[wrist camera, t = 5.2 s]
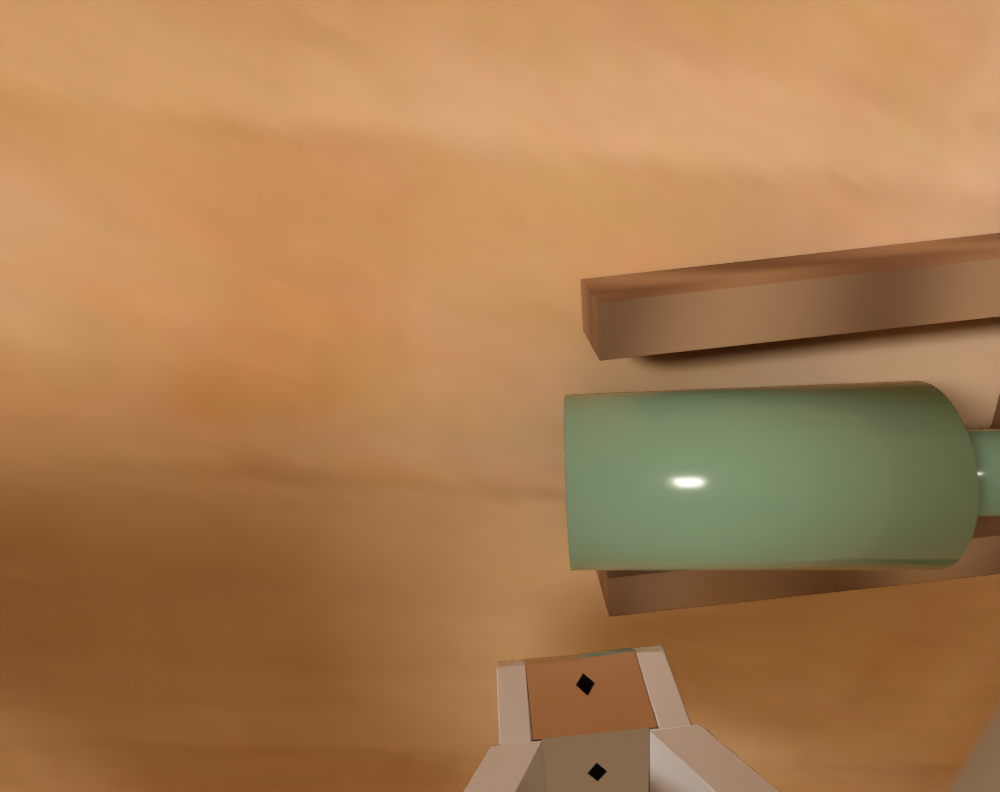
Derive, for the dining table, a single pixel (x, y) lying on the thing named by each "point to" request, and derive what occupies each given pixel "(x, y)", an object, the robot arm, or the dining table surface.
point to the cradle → (784, 316)
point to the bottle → (775, 478)
